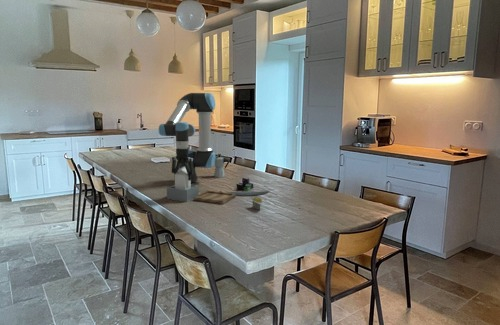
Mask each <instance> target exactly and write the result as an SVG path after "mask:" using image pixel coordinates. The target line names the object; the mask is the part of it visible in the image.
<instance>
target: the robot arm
mask: <svg viewBox="0 0 500 325" xmlns="http://www.w3.org/2000/svg"><path fill="white" fill-rule="evenodd" d="M215 109H216V100H215V96H214V94H212V93H210V92H190V93H187V94H184V95H183V96H182V97H181V98H179V99H178V101H177V103H176V107H175V108H174V110H173V111H172V113H171V114H170V116H169V117H168V119H167V121H166V122H165V123H161V124H159V125H158V134H159V135H160V136H162V137H175V147H176V148H175V154H176V155H175V156H172V157H171V159H172V162H171V171H170V172H171V173H172V174H174V178H175V174H176V173H177V172H178V170H179V169H180V168H182V167H185V168H186V171H187V174H188V175H187V186H189V185H190V180H191V183H196V182H198V180H199V179H198V176H197V175H198V174H197V172H196V168H201V169H202V168H203V169H205V168H206V169H211V168H213V167H214V166H215V158H217V157H216V152H214V149H213V147H212V145H211V144H212V139H211V138H212V137H211V136H212V134H211V132H212V130H211V127H212V126H211V125H212V124H211V120H212V119H211V118H212V116H211V115H212V114H213V110H215ZM190 110H195V111H196V113H197V115H198V148H197V149H193V148H191V149H189V147H190V145H189V140H190V139H189V137H192V136H194V135H195V133H196V127H195V126H194V125H193V124H190V123H189V122H185V121H183V118H184V117H185V115H186V113H188V112H190Z"/></svg>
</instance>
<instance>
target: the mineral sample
mask: <svg viewBox="0 0 500 325" xmlns="http://www.w3.org/2000/svg"><path fill="white" fill-rule="evenodd" d="M241 180H242V181H239V182H238V183H235V185H236V189H237V191H225V193H234V194H236V196H240V197H241V196H242V197H244V196H249V197H250V196H260V195H265V194H267V193H269V192H270V190H269V191H266V190H265V191H263V190H261V191H260V190H259V191H250V190H252V189H254V183H253V182H252V183H251V182H250V177H242V179H241ZM264 187H265V188H266V189H267V188H268V189H269V187H268V186H265V185H264ZM219 192H222V191H219Z"/></svg>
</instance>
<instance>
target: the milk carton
mask: <svg viewBox="0 0 500 325" xmlns="http://www.w3.org/2000/svg"><path fill="white" fill-rule="evenodd" d="M187 175H188V174H187V171H186V168H185V167H182V168H180V169H179V170H178V172H177V173H176V174H175V177H174V185H175V188H176V189H184V190H187V189H189V188H191V185H192V184H191V183H192V182H191V180H190V185H189V186H187Z"/></svg>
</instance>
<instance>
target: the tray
mask: <svg viewBox="0 0 500 325" xmlns="http://www.w3.org/2000/svg"><path fill="white" fill-rule="evenodd" d="M236 197H237V195H236V194H234V193H230V192H229V193H228V192H227V193H226V191H221V192H220V191H215V190H205V191H204V192H202V193H199V195H197V196H195V197H194V199H193V201H194V200H196V202H202V201H203V203H209V204H217V203H218V204H219V205H225V204H226V203H229V201H231V200H233V199H235V198H236Z"/></svg>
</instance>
